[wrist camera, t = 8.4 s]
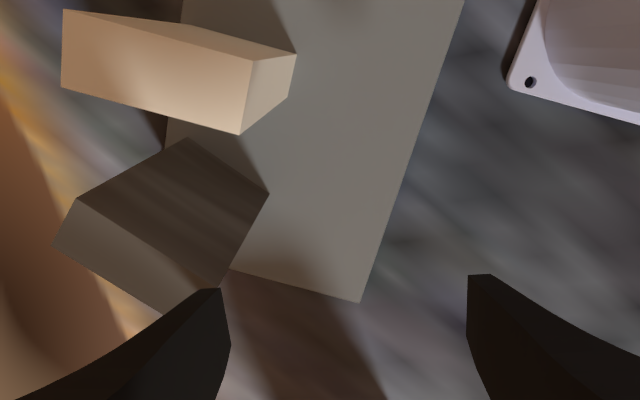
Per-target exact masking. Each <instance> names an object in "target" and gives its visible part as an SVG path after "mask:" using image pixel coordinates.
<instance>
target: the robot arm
mask: <svg viewBox="0 0 640 400" xmlns="http://www.w3.org/2000/svg"><path fill="white" fill-rule="evenodd" d="M530 76H531V77H532V78H533V84H532V85H531V86H530V87H528V88H527V87H525V84H524V83H525V80H526V79H527V78H528V77H530ZM506 84H507V86H508V87H509V88H510V89H512V90H515V91H519V92H522V93H526V94H529V95H533V96H537V97H540V98H544V99H548V100H551V101H555V102H558V103H562V104H566V105H569V106H573V107H576V108H580V109H584V110H587V111H591V112H594V113H598V114H602V115H605V116H609V117H612V118H616V119H620V120H623V121H627V122H630V123H634V124H638V125H640V0H537V2H536V5H535V7H534V10H533V12H532V15H531V17H530V20H529V22H528V24H527V27H526V29H525V32H524V34H523V37H522V39H521V42H520V44H519V47H518V49H517V52H516V54H515V57H514V59H513V61H512V64H511V66H510V69H509V71H508V74H507V77H506ZM466 337H467V340H468V344H469V347H470V350H471V354H472V357H473V360H474V363H475V366H476V369H477V371H478V373H479V375H480V377H481V380H482V382H483V384H484V386H485V388H486V391H487V393H488V395H489V397H490V399H491V400H640V357H639V356H637V355H634V354H632V353H630V352H627V351H625V350H623V349H620V348H618V347H616V346H614V345H612V344H610V343H608V342H606V341H603V340H601V339H599V338H597V337H595V336H593V335H591V334H589V333H587V332H585V331H583V330H581V329H579V328H578V327H576V326H574V325H572V324H570V323H569V322H567V321H565V320H563V319H561V318H560V317H558V316H556V315H555V314H553V313H551V312H550V311H548V310H546V309H545V308H543V307H541V306H540V305H538V304H537V303H535V302H533V301H532V300H530V299H529V298H527V297H526V296H524V295H523V294H521V293H519V292H518V291H516V290H515V289H513V288H512V287H510V286H509V285H507V284H506V283H504V282H503V281H501V280H499V279H498V278H496V277H495V276H493V275H491V274H480V275H468V289H467V321H466ZM230 349H231V340H230V335H229V330H228V325H227V319H226V314H225V309H224V304H223V298H222V293H221V288H205V289H199V290H198V291H196V292H195V293H193V294H192V295H190V296H189V297H187V298H186V299H185V300H183V301H182V302H181V303H179V304H178V305H177V306H175V307H174V308H173V309H171V310H170V311H169V312H167V313H166V314H165V315H163V316H162V317H160V318H159V319H158V320H156V321H155V322H154V323H152V324H151V325H150V326H148V327H147V328H145V329H144V330H142V331H141V332H139V333H138V334H136V335H135V336H134V337H132V338H131V339H129V340H128V341H126V342H125V343H123V344H122V345H120V346H119V347H117V348H116V349H114V350H112V351H111V352H109V353H107V354H106V355H104V356H102V357H101V358H99V359H97V360H95V361H94V362H92V363H90V364H88V365H87V366H85V367H83V368H81V369H79V370H77V371H75V372H73V373H71V374H69V375H68V376H65V377H63V378H61V379H59V380H57V381H55V382H53V383H51V384H49V385H47V386H45V387H43V388H41V389H39V390H36V391H34V392H32V393H30V394H27V395H25V396H23V397H20V398H18V399H16V400H215V399H216V396H217V393H218V391H219V388H220V386H221V383H222V380H223V377H224V374H225V370H226V366H227V362H228V358H229V353H230Z"/></svg>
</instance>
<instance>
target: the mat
mask: <svg viewBox="0 0 640 400" xmlns="http://www.w3.org/2000/svg"><path fill="white" fill-rule="evenodd" d="M464 2H465V0H183V5H182V13H181V21H180V24H188V25H193V26H197V27H200V28H204V29H208V30H211V31H215V32H219V33H222V34H226V35H229V36H233V37H237V38H240V39H244V40H248V41H251V42H255V43H258V44H262V45H266V46H269V47H273V48H276V49H280V50H284V51H287V52H291V53H295V54H297V56H296V61H295V65H294V70H293V74H292V79H291V83H290V87H289V92H288V96H287V98H286V99H284V100H283V101H282V102H281V103H279V104H278V105H277V106H276V107H274V108H273V109H272V110H271V111H269V112H268V113H267V114H266V115H264V116H263V117H262V118H261V119H259V120H258V121H257V122H255V123H254V124H253V125H252V126H250V127H249V128H248V129H247V130H245V131H244V132H243V133H242V134H240V135H236V134H232V133H228V132H225V131H221V130H217V129H214V128H210V127H206V126H203V125H199V124H195V123H192V122H188V121H184V120H181V119H177V118H173V117H170V116H168V124H167V132H166V140H165V148H164V149H166V148H168V147H169V146H171V145H173V144H175V143H177V142H179V141H180V140H182V139H184V138H186V137H188V138H190V139H191V140H193V141H194V142H196V143H197V144H199V145H200V146H201V147H203V148H204V149H206V150H207V151H209V152H210V153H212V154H213V155H214V156H216V157H217V158H219V159H220V160H222V161H223V162H225V163H226V164H227V165H229V166H230V167H232V168H233V169H235V170H236V171H238V172H239V173H240V174H242V175H243V176H245V177H246V178H248V179H249V180H251V181H252V182H253V183H255V184H256V185H258V186H259V187H261V188H262V189H264V190H265V191H266V192H268V193H269V194H270V195H269V196H268V198H267V200H266V202H265V203H264V205H263V207H262V209H261V211H260V212H259V214H258V216H257V218H256V220H255V221H254V223H253V225H252V227H251V229H250V230H249V232H248V234H247V236H246V238H245V239H244V241H243V243H242V245H241V246H240V248H239V250H238V252H237V254H236V255H235V257H234V259H233V261H232V263H231V264H230V266H229V268H228V269H231V270H235V271H239V272H242V273H246V274H250V275H254V276H258V277H261V278H265V279H269V280H273V281H276V282H280V283H284V284H288V285H292V286H295V287H299V288H303V289H307V290H310V291H314V292H318V293H322V294H326V295H329V296H333V297H337V298H341V299H344V300H348V301H352V302H356V303H360V300H361V297H362V295H363V292H364V289H365V286H366V283H367V280H368V277H369V274H370V272H371V269H372V266H373V263H374V260H375V257H376V254H377V251H378V249H379V246H380V243H381V240H382V237H383V234H384V231H385V228H386V226H387V223H388V220H389V217H390V214H391V211H392V208H393V205H394V203H395V200H396V197H397V194H398V191H399V188H400V185H401V183H402V180H403V177H404V174H405V171H406V168H407V165H408V162H409V160H410V157H411V154H412V151H413V148H414V145H415V142H416V139H417V137H418V134H419V131H420V128H421V125H422V122H423V119H424V116H425V114H426V111H427V108H428V105H429V102H430V99H431V96H432V93H433V91H434V88H435V85H436V82H437V79H438V76H439V73H440V70H441V68H442V65H443V62H444V59H445V56H446V53H447V50H448V47H449V45H450V42H451V39H452V36H453V33H454V30H455V27H456V25H457V22H458V19H459V16H460V13H461V10H462V7H463V4H464Z"/></svg>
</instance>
